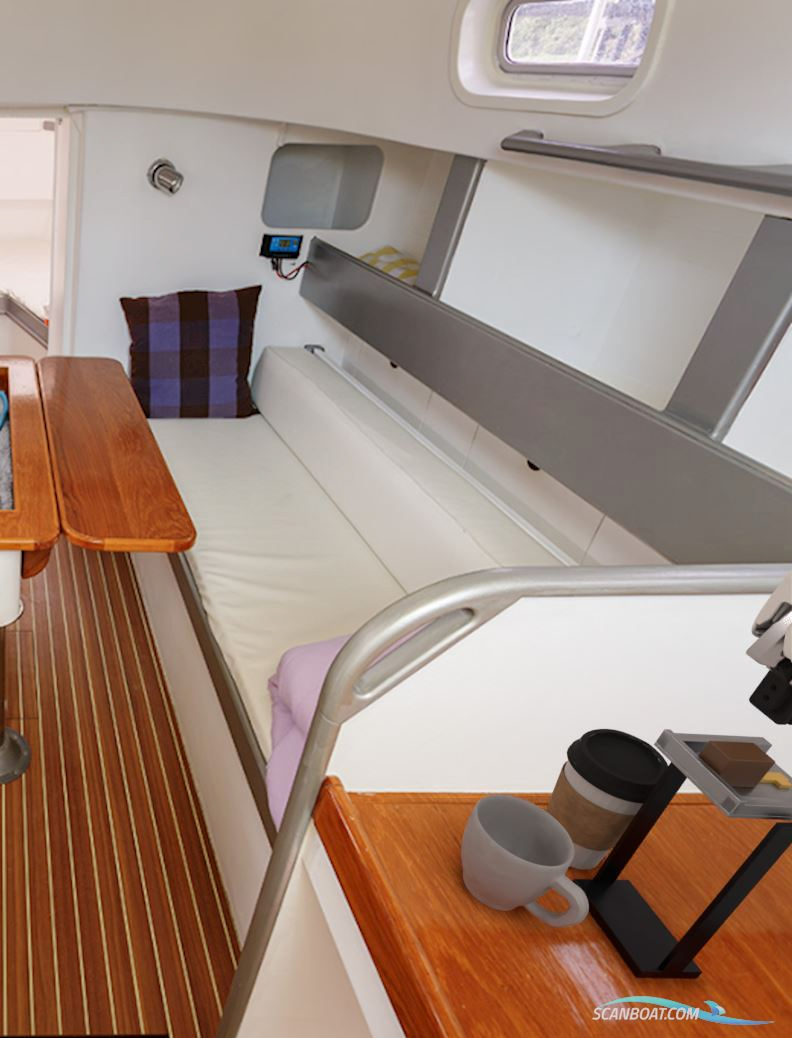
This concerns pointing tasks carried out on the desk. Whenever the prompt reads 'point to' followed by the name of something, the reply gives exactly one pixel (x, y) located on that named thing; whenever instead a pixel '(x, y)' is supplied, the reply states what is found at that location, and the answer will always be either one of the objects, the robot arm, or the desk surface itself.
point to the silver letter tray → (729, 800)
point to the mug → (519, 859)
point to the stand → (636, 922)
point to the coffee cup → (603, 790)
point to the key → (741, 764)
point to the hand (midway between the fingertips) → (771, 713)
